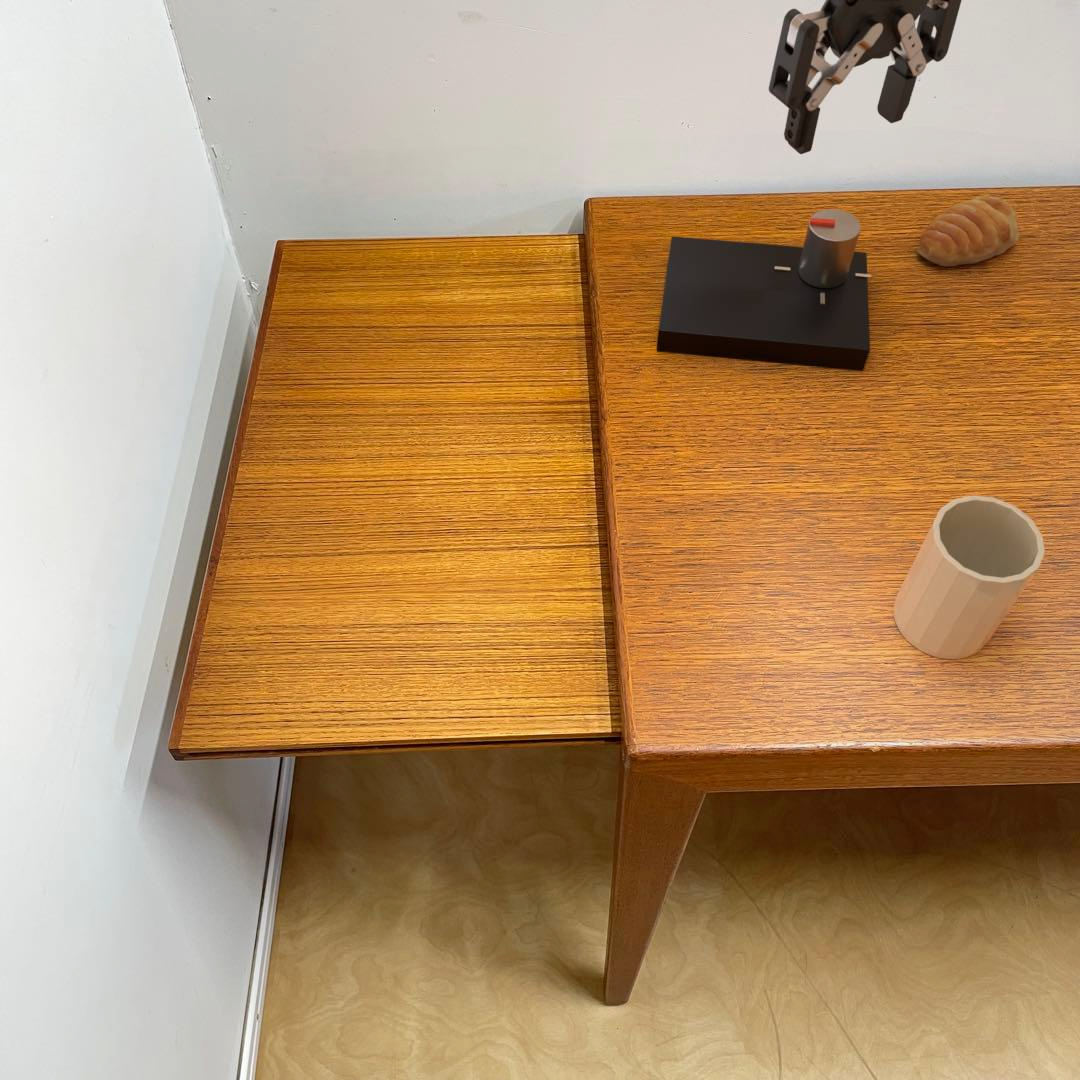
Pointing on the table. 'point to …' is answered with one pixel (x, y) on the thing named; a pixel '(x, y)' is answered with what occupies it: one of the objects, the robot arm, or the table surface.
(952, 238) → the pastry
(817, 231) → the knob
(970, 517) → the cup
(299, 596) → the table surface
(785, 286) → the hob
